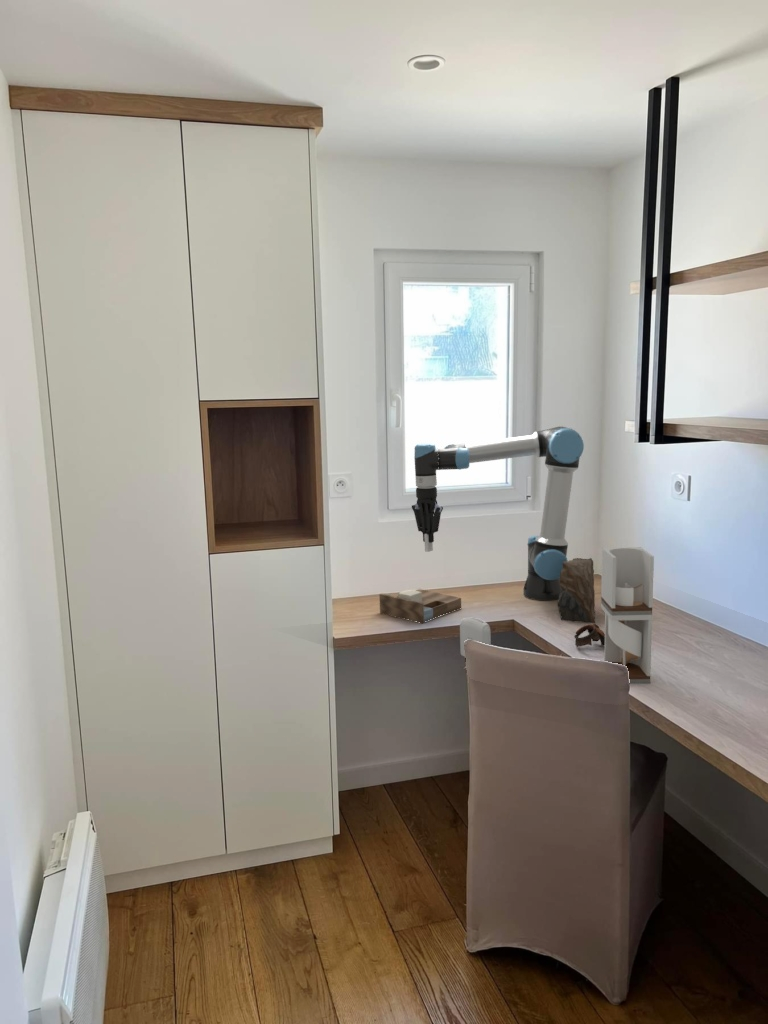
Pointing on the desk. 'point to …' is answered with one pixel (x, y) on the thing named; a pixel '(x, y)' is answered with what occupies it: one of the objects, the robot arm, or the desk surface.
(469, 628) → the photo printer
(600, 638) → the brown curved openwork arch
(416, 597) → the cream block
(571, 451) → the robot arm
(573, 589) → the brown rock
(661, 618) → the desk surface
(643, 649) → the curved two-tier shelf
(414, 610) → the trap deck
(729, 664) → the desk surface
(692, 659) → the desk surface
